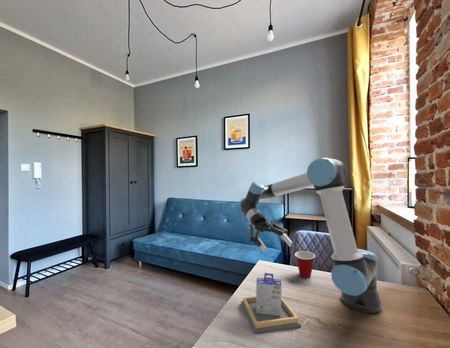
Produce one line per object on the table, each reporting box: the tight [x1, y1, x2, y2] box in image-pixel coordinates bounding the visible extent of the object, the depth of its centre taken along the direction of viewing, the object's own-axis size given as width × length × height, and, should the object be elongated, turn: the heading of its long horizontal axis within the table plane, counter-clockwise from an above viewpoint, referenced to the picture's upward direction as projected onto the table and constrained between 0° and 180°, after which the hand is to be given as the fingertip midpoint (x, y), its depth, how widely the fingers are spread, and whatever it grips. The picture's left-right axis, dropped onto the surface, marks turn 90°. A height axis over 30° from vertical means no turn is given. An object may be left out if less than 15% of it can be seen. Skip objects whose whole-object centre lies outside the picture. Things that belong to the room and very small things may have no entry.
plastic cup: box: [294, 250, 316, 279], centre depth 122 cm, size 11×11×12 cm
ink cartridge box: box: [255, 272, 283, 316], centre depth 88 cm, size 10×6×14 cm, turn 79°
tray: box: [240, 296, 302, 334], centre depth 88 cm, size 18×18×3 cm
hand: (278, 247), depth 98 cm, fingers open, 13 cm apart
